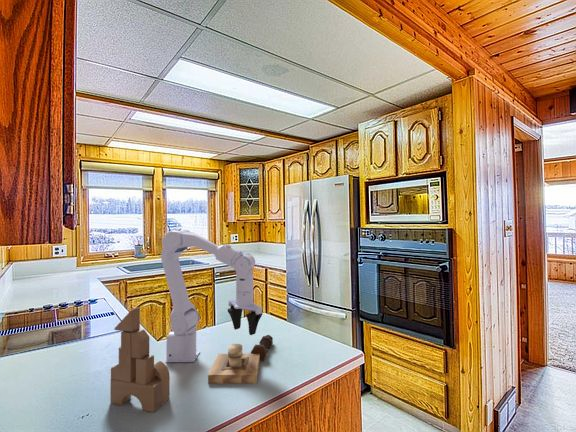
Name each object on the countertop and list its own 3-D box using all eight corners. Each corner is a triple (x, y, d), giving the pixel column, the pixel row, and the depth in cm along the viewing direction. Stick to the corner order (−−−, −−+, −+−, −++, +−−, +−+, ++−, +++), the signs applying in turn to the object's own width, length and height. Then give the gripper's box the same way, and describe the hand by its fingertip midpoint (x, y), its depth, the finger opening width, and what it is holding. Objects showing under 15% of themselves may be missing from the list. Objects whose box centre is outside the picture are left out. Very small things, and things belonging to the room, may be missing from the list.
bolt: (270, 348, 120) (260, 365, 105) (259, 341, 120) (248, 356, 106) (278, 335, 119) (268, 351, 104) (267, 328, 120) (256, 342, 105)
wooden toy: (171, 397, 84) (171, 305, 84) (153, 412, 77) (154, 312, 77) (124, 388, 88) (125, 300, 88) (104, 402, 82) (105, 307, 82)
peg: (232, 377, 94) (232, 351, 94) (225, 371, 98) (225, 346, 98) (245, 372, 97) (245, 347, 97) (238, 367, 101) (238, 342, 101)
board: (208, 383, 91) (208, 374, 91) (218, 361, 105) (218, 353, 105) (255, 383, 91) (255, 374, 91) (259, 361, 105) (259, 353, 105)
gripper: (221, 289, 106) (221, 329, 105) (250, 296, 96) (250, 340, 96) (237, 286, 111) (237, 324, 111) (266, 292, 102) (266, 334, 101)
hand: (244, 331), depth 104 cm, fingers open, 7 cm apart
